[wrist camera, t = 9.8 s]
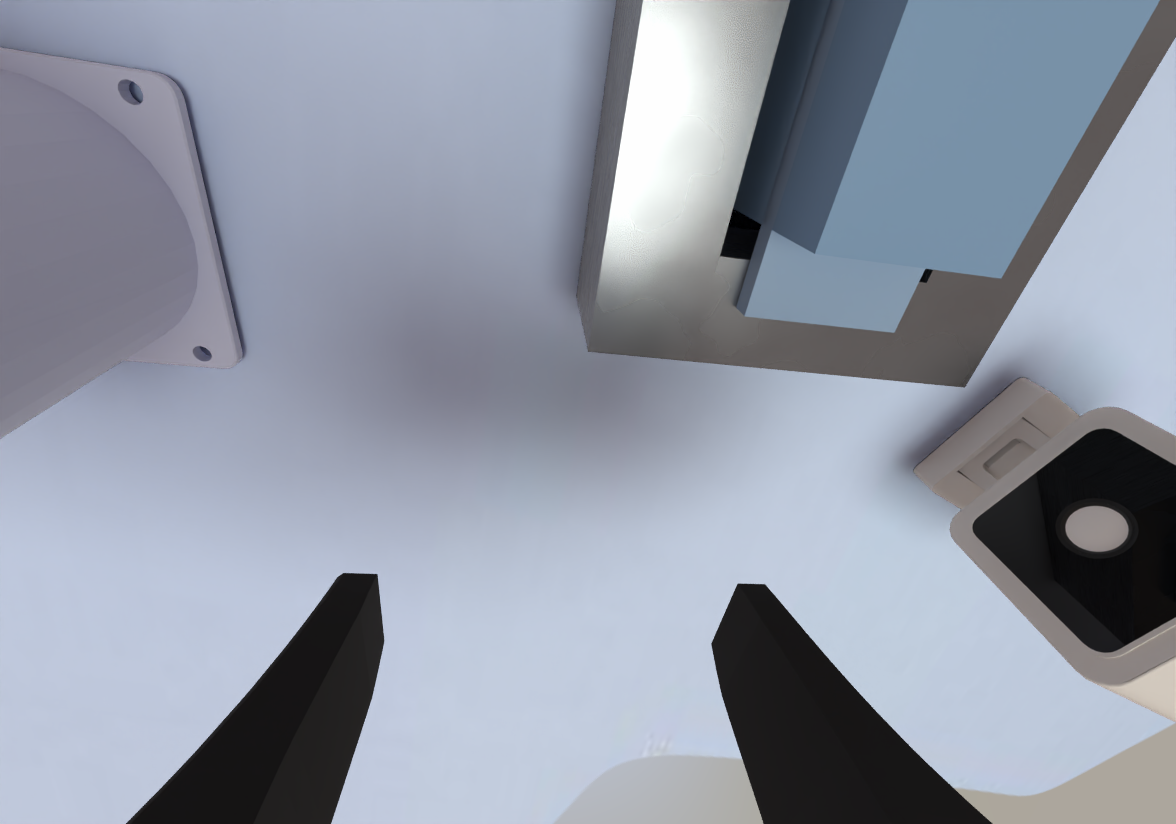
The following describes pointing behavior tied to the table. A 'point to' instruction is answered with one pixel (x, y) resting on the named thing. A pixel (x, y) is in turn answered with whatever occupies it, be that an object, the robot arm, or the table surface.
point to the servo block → (915, 143)
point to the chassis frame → (722, 254)
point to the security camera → (1073, 531)
